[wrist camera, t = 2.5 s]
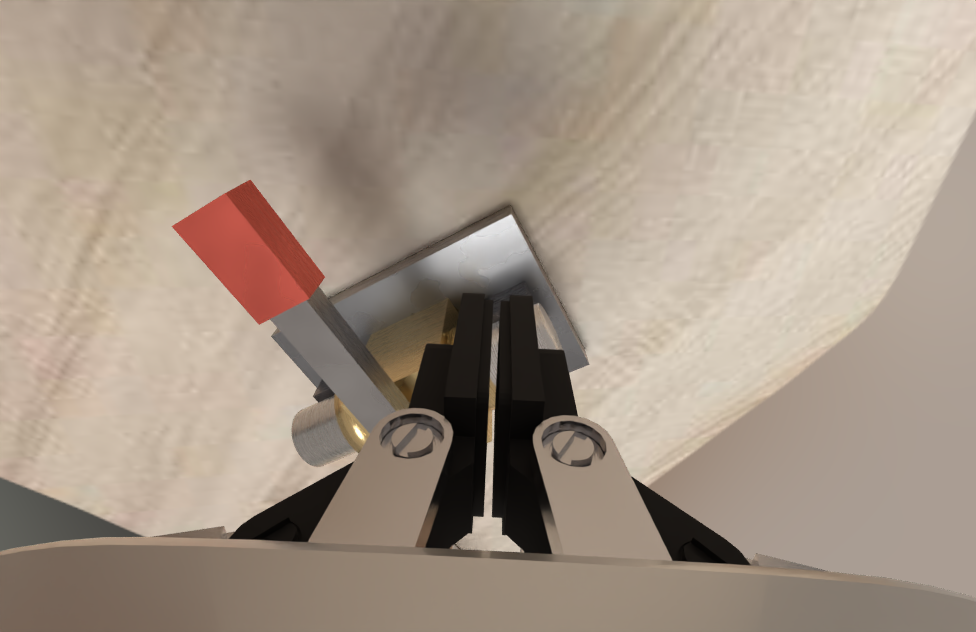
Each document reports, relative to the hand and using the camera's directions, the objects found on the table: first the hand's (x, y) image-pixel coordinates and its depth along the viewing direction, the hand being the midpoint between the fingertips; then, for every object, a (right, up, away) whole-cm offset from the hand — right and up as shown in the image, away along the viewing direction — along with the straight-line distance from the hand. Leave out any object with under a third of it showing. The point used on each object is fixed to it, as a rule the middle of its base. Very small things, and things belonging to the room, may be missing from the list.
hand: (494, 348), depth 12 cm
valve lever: (-6, 0, +7) cm, 9 cm away
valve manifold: (-3, 0, +16) cm, 17 cm away
